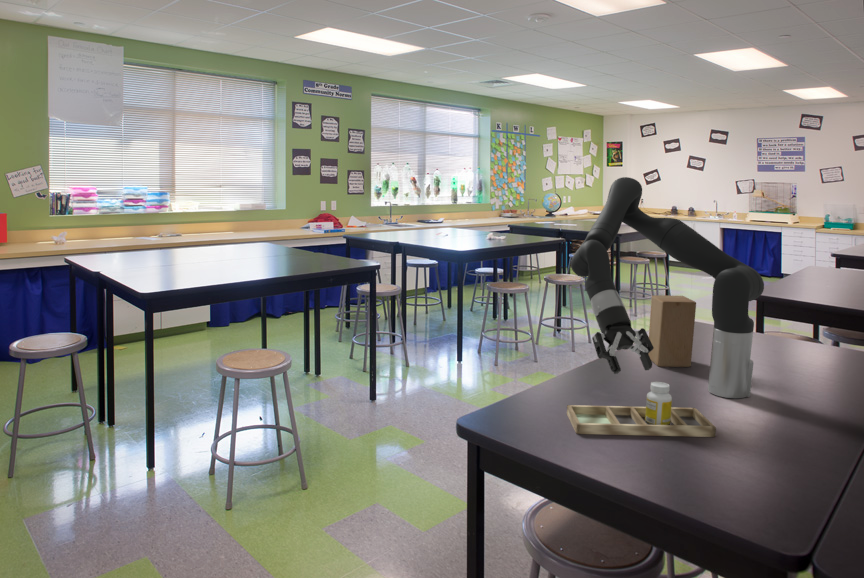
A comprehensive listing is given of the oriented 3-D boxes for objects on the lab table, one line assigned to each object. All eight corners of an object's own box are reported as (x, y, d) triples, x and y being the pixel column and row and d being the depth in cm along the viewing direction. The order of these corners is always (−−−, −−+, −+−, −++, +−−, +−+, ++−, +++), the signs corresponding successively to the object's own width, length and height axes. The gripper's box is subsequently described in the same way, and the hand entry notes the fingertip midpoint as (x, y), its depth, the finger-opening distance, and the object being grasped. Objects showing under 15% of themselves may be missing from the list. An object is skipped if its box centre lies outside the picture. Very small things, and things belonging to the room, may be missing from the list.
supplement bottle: (669, 422, 142) (672, 382, 140) (670, 431, 136) (673, 389, 135) (644, 419, 143) (647, 379, 142) (644, 428, 138) (647, 386, 136)
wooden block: (691, 367, 183) (697, 301, 180) (657, 367, 184) (662, 301, 180) (678, 357, 193) (683, 295, 190) (646, 357, 193) (651, 295, 190)
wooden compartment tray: (694, 416, 145) (695, 407, 145) (715, 437, 134) (716, 427, 133) (566, 413, 146) (567, 405, 146) (576, 433, 135) (576, 424, 134)
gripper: (627, 317, 159) (651, 374, 151) (578, 321, 155) (600, 380, 147) (641, 302, 153) (667, 361, 145) (591, 306, 149) (614, 366, 141)
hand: (633, 370), depth 146 cm, fingers open, 8 cm apart
